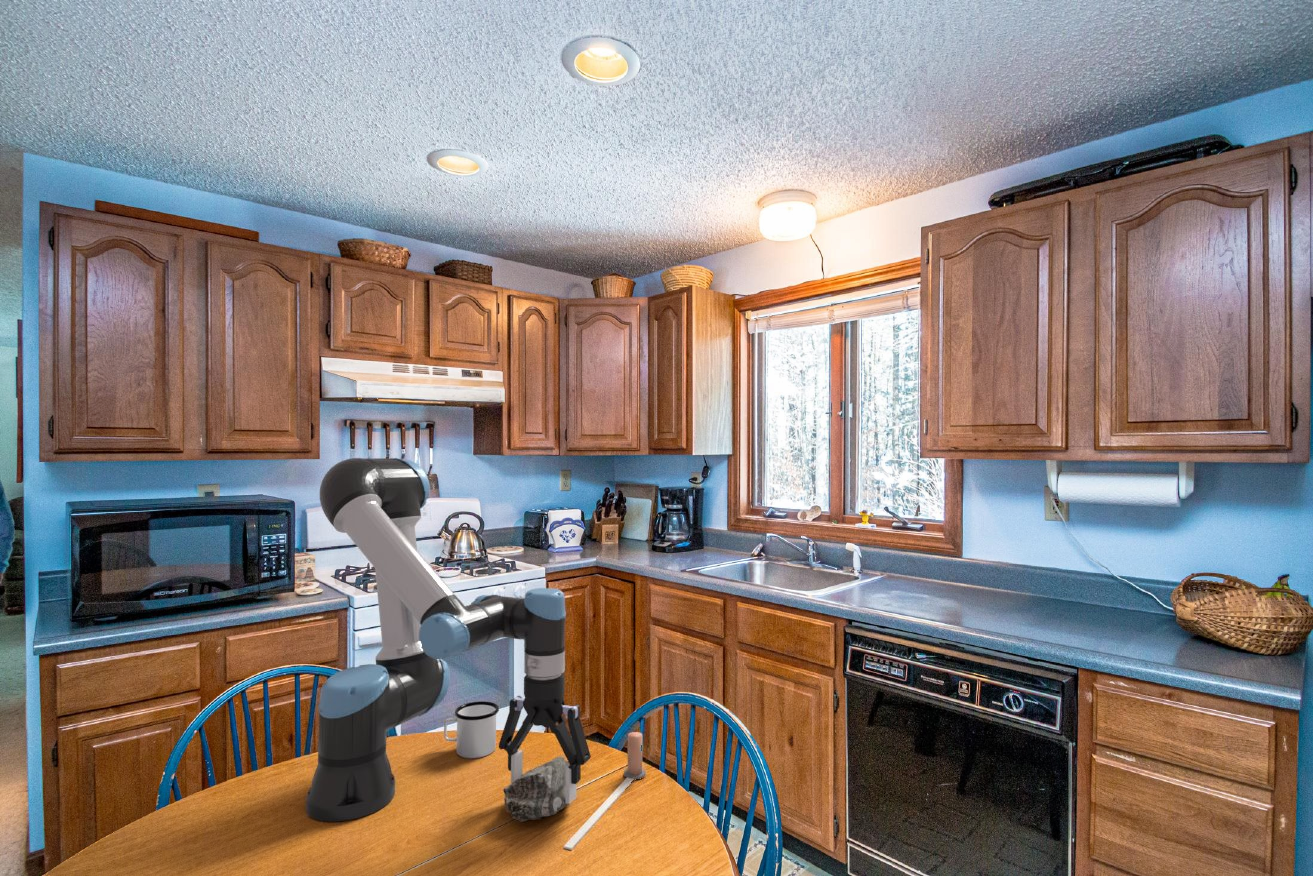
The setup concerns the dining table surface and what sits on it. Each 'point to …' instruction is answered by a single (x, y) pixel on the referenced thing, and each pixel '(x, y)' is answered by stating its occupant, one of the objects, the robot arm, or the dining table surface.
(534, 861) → the dining table surface
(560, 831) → the dining table surface
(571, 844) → the crank handle
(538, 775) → the rock
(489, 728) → the mug
